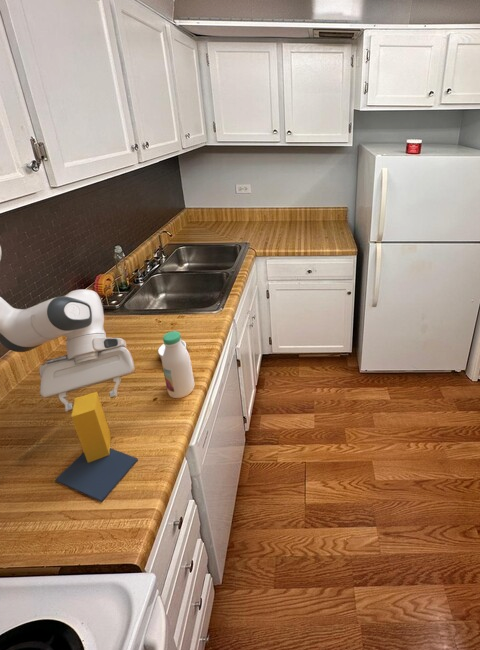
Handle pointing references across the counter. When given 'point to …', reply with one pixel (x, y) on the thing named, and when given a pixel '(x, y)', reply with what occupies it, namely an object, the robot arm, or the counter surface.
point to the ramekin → (162, 348)
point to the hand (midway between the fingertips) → (92, 404)
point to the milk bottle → (177, 366)
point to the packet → (91, 426)
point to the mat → (97, 474)
